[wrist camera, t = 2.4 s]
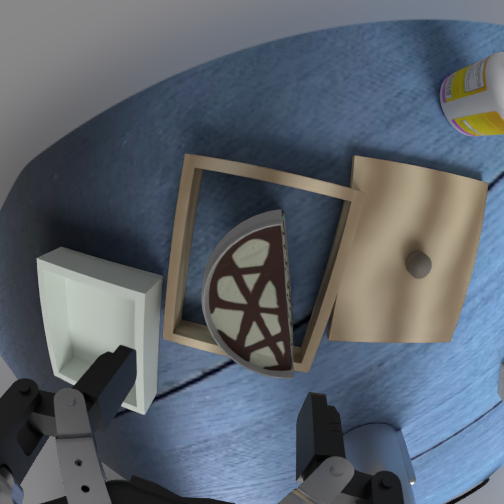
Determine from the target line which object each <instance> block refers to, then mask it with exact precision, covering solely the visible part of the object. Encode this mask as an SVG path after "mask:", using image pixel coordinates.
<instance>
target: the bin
mask: <svg viewBox="0 0 504 504" xmlns="http://www.w3.org/2000/svg"><path fill="white" fill-rule="evenodd" d="M37 270H38V281H39V291H40V300H41V308H42V315H43V321H44V328H45V333H46V339H47V344H48V349H49V354H50V358H51V363H52V367H53V371H54V375H55V376H57V377H59V378H61V379H63V380H65V381H67V382H69V383H71V384H73V385H75V384H76V383H77V381H78V380H79V379H80V378H81V377H82V375H83V374H84V373H85V372H86V371H87V370H88V369H89V367H90V366H91V365H92V364H93V363H94V361H95V360H96V359H97V358H98V357H99V356H100V355H102V354H104V353H106V352H107V351H109V352H112V353H113V352H114V351H115V350H116V349H117V348H118V346H119V345H124V346H127V347H129V348H132V349H135V350H136V353H137V378H136V381H135V384H134V386H133V387H132V389H131V390H130V392H129V394H128V395H127V397H126V398H125V400H124V402H123V403H122V405H121V406H122V407H125V408H128V409H130V410H133V411H135V412H138V413H141V414H144V415H145V414H146V412H147V410H148V408H149V406H150V404H151V402H152V401H153V399H154V397H155V395H156V393H157V378H158V348H159V329H160V313H161V299H162V287H163V276H162V275H158V274H155V273H151V272H147V271H143V270H140V269H136V268H133V267H129V266H125V265H122V264H118V263H115V262H111V261H108V260H104V259H101V258H97V257H94V256H91V255H87V254H84V253H81V252H77V251H74V250H71V249H67V248H64V247H59V248H57V249H55V250H53V251H51V252H49V253H47V254H44V255H42V256H40V257H38V258H37Z"/></svg>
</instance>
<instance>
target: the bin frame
mask: <svg viewBox="0 0 504 504" xmlns="http://www.w3.org/2000/svg"><path fill="white" fill-rule="evenodd" d="M204 169H206V170H212V171H217V172H223V173H228V174H233V175H238V176H243V177H248V178H253V179H258V180H263V181H267V182H272V183H277V184H281V185H286V186H290V187H294V188H299V189H303V190H307V191H311V192H315V193H319V194H324V195H328V196H331V197H335V198H339V199H343V200H344V203H343V207H342V211H341V215H340V219H339V222H338V226H337V230H336V234H335V237H334V241H333V245H332V248H331V252H330V255H329V259H328V262H327V266H326V269H325V273H324V276H323V279H322V283H321V286H320V289H319V293H318V296H317V299H316V302H315V305H314V309H313V312H312V315H311V318H310V321H309V324H308V327H307V330H306V333H305V336H304V339H303V342H302V345H301V347H298V346H293V366H294V371H300V372H306V373H308V372H309V370H310V367H311V365H312V362H313V360H314V357H315V354H316V352H317V349H318V346H319V344H320V341H321V338H322V336H323V333H324V330H325V327H326V325H327V322H328V319H329V316H330V313H331V310H332V307H333V304H334V302H335V299H336V296H337V292H338V289H339V286H340V283H341V280H342V277H343V274H344V271H345V267H346V264H347V261H348V257H349V254H350V251H351V247H352V244H353V240H354V237H355V233H356V229H357V226H358V222H359V218H360V215H361V211H362V207H363V203H364V199H365V195H366V193H365V192H362V191H359V190H356V189H352V188H350V187H346V186H342V185H338V184H334V183H331V182H327V181H323V180H319V179H315V178H311V177H306V176H302V175H298V174H294V173H289V172H285V171H280V170H276V169H271V168H266V167H261V166H257V165H252V164H247V163H241V162H236V161H231V160H225V159H220V158H214V157H208V156H202V155H196V154H185V158H184V164H183V169H182V175H181V181H180V187H179V194H178V200H177V207H176V214H175V221H174V229H173V236H172V244H171V253H170V262H169V271H168V281H167V291H166V303H165V315H164V329H163V339H166V340H169V341H173V342H176V343H179V344H183V345H186V346H190V347H194V348H197V349H201V350H205V351H209V352H212V353H216V354H220V355H224V356H227V354H226V353H225V352H224V351H223V350H222V349H221V348H220V347H219V346H218V344H217V343H216V341H215V340H214V338H213V337H212V335H211V333H210V331H209V329H208V326H205V325H201V324H198V323H194V322H190V321H187V320H183V319H182V313H183V304H184V296H185V288H186V280H187V272H188V264H189V257H190V250H191V243H192V236H193V229H194V223H195V216H196V210H197V204H198V198H199V192H200V186H201V181H202V175H203V170H204Z"/></svg>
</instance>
